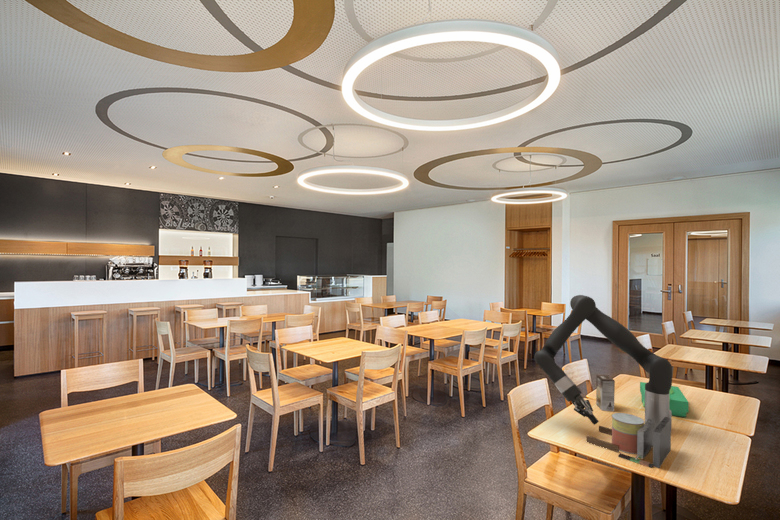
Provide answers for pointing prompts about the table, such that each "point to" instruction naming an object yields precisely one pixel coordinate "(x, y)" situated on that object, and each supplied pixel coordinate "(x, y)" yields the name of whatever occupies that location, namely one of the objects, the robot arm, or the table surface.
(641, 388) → the green box
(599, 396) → the coffee box
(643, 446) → the steel plate
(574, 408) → the robot arm
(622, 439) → the canned food
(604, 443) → the frame
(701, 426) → the table surface
